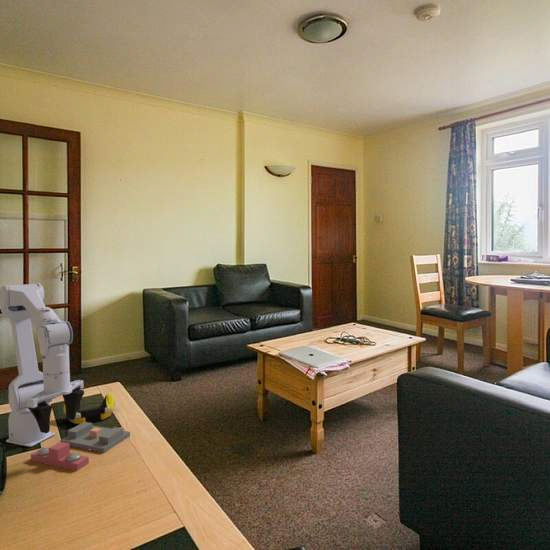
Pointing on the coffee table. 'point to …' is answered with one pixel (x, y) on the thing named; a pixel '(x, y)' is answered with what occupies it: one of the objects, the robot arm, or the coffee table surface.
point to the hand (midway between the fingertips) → (58, 425)
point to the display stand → (95, 437)
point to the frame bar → (60, 456)
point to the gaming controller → (94, 411)
